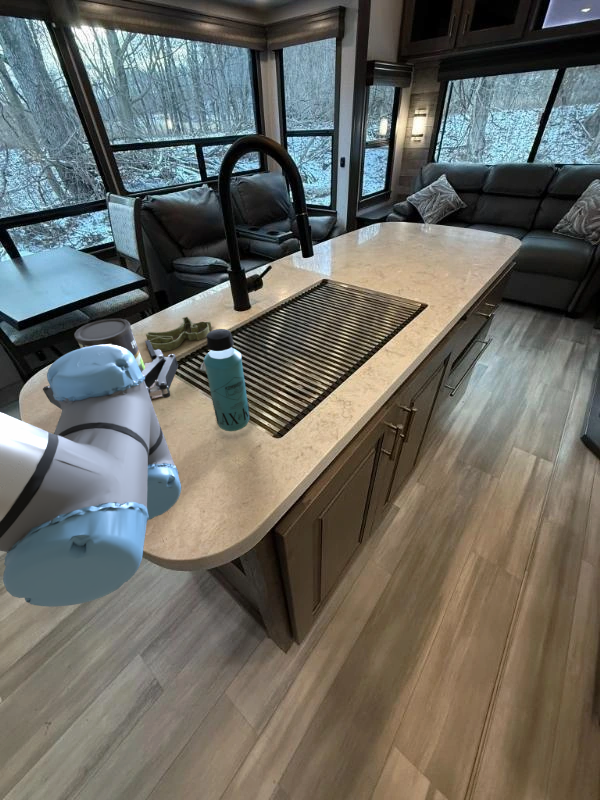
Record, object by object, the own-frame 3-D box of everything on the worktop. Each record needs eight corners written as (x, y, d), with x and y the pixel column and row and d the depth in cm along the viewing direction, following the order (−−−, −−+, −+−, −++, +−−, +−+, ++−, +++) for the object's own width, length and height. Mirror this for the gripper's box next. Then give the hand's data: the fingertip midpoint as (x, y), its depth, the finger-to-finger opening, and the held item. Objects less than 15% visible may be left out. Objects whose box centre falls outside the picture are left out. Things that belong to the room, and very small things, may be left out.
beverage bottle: (210, 429, 64) (187, 336, 52) (234, 410, 68) (218, 320, 56) (235, 442, 61) (217, 347, 49) (258, 422, 65) (247, 330, 53)
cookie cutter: (192, 320, 103) (191, 314, 101) (218, 330, 97) (217, 324, 96) (140, 342, 92) (137, 336, 90) (165, 356, 86) (163, 349, 85)
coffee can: (143, 368, 81) (123, 313, 72) (155, 388, 75) (135, 331, 66) (97, 382, 77) (70, 326, 68) (106, 405, 70) (77, 346, 61)
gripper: (37, 475, 44) (41, 392, 59) (217, 413, 54) (182, 355, 68) (6, 435, 39) (19, 356, 54) (209, 375, 49) (174, 322, 64)
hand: (110, 355), depth 61 cm, fingers open, 13 cm apart
